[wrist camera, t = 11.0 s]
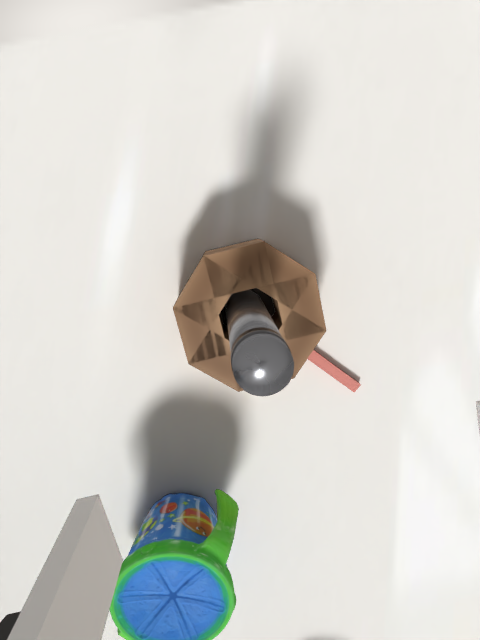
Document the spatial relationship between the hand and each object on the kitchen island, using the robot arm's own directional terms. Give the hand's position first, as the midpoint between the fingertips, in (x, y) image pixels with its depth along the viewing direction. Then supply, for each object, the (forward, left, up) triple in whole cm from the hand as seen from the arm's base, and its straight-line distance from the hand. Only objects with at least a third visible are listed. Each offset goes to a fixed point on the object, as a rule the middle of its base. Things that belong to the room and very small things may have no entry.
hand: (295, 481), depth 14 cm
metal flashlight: (0, 0, -27) cm, 27 cm away
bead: (0, 0, -27) cm, 27 cm away
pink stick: (+5, -6, -27) cm, 28 cm away
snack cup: (-12, -21, -27) cm, 36 cm away
